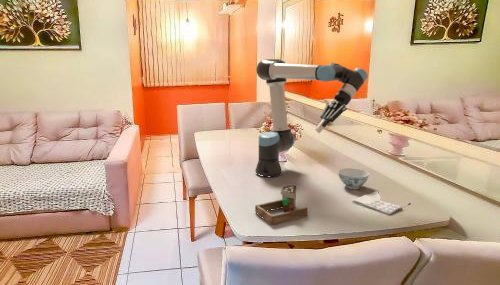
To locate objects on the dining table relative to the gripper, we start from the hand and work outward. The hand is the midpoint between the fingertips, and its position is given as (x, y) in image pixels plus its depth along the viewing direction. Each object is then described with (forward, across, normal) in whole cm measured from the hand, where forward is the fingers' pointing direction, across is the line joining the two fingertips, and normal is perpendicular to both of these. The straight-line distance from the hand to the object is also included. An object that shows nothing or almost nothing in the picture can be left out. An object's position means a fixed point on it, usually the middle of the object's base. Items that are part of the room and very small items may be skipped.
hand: (317, 131), depth 166 cm
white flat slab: (+11, -28, -33) cm, 45 cm away
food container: (+40, -13, -3) cm, 42 cm away
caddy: (+43, -16, +1) cm, 46 cm away
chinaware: (+7, -6, -36) cm, 37 cm away
